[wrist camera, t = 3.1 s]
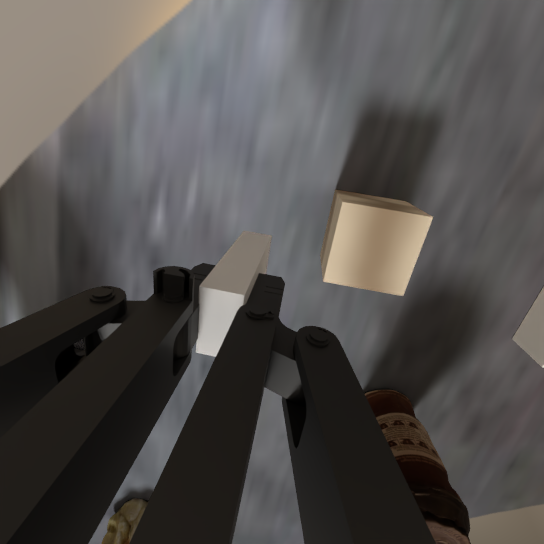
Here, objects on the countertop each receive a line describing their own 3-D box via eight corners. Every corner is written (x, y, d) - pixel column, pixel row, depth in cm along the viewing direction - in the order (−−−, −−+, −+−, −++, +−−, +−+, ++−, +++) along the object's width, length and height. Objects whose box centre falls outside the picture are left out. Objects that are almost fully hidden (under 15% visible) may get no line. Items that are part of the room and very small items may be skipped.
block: (320, 254, 27) (323, 281, 22) (335, 189, 25) (342, 201, 19) (384, 265, 27) (402, 296, 22) (405, 201, 25) (433, 217, 19)
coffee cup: (355, 371, 32) (381, 503, 20) (431, 385, 32) (504, 528, 20) (338, 425, 36) (353, 564, 24) (407, 438, 35) (456, 586, 23)
